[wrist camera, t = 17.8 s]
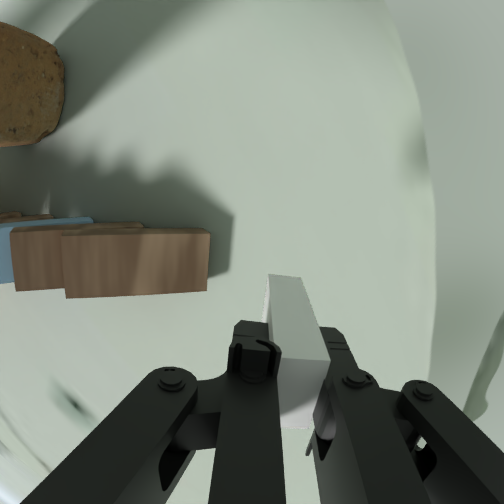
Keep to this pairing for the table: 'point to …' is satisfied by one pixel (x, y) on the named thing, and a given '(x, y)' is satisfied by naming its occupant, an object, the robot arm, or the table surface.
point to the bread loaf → (28, 87)
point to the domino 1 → (3, 269)
